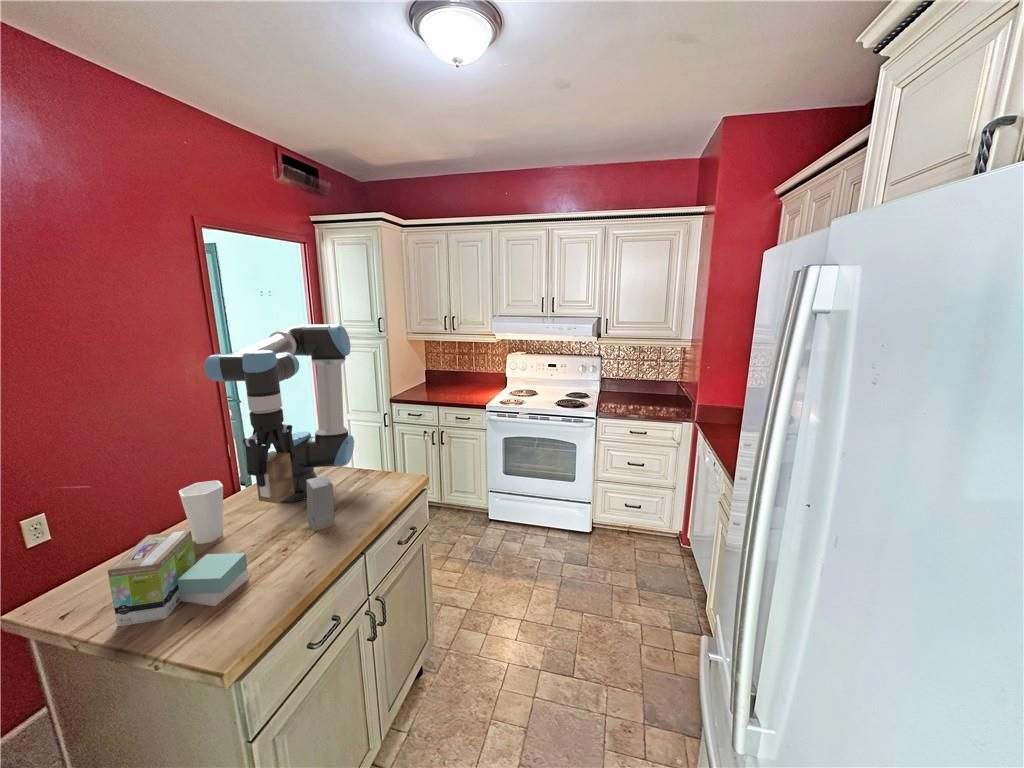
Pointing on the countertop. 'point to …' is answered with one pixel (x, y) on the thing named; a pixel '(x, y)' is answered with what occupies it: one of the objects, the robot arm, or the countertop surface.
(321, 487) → the skincare box
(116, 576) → the tea box
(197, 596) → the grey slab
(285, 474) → the walnut block
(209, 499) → the cup
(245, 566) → the teal slab
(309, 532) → the countertop surface
